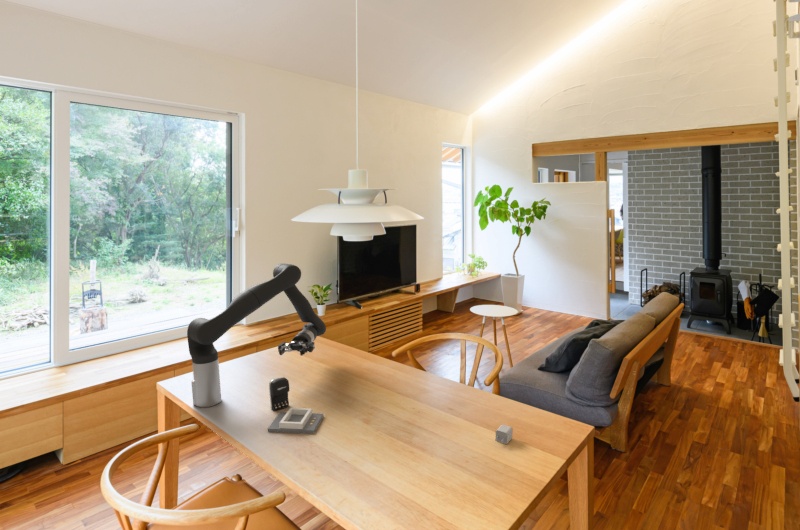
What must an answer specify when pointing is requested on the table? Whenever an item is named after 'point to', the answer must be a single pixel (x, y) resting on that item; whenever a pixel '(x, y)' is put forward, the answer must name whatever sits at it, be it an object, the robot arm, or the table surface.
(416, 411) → the table surface
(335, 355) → the table surface
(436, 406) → the table surface
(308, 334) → the robot arm
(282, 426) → the charging dock
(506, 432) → the usb wall charger
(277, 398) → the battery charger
